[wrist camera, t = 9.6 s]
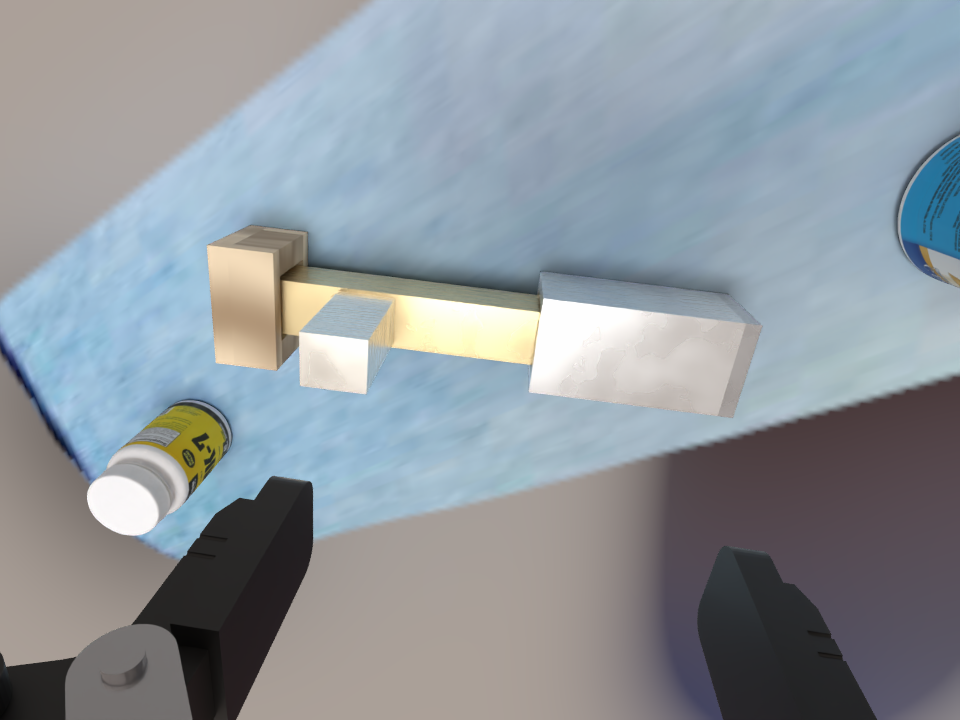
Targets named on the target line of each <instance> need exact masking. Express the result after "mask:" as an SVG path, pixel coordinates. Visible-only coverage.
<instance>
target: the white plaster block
mask: <svg viewBox="0 0 960 720" xmlns="http://www.w3.org/2000/svg"><path fill="white" fill-rule="evenodd" d="M537 295H539V296H540V307H541V310H540V316H539V323H538V329H537V335H536V342H535V348H534V354H533V361H532V365H528V383H529V392H531V393H539V394H547V395H555V396H563V397H571V398H579V399H587V400H595V401H603V402H611V403H619V404H627V405H635V406H642V407H650V408H658V409H666V410H674V411H682V412H690V413H698V414H706V415H714V416H722V417H730V418H733V416H734V413H735V410H736V407H737V403H738V400H739V397H740V394H741V391H742V388H743V385H744V382H745V378H746V375H747V372H748V369H749V366H750V363H751V360H752V357H753V353H754V350H755V347H756V344H757V341H758V338H759V335H760V332H761V328H762V325H761V324H760V323H759V322H758V321H757V320H756V319H755V318H754V317H753V316H751V315H750V314H749V313H748V312H747V311H746V310H745V309H744V308H743V307H742V306H741V305H740V304H739V303H738V302H736V301H735V300H734V299H733V298H732V297H731V296H730V295H729V294H723V293H715V292H706V291H698V290H690V289H682V288H674V287H666V286H658V285H650V284H641V283H633V282H625V281H617V280H609V279H601V278H593V277H584V276H576V275H568V274H560V273H552V272H544V271H540V277H539V284H538V290H537Z"/></svg>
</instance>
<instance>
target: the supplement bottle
mask: <svg viewBox="0 0 960 720" xmlns="http://www.w3.org/2000/svg"><path fill="white" fill-rule="evenodd" d="M230 444H231V431H230V428H229V425H228V423H227V421H226V419H225V418H224V416H223V415H222V414H221V413H220V412H219V411H218V410H216V409H215V408H214V407H212V406H210V405H208V404H206V403H203V402H200V401H195V400H185V401H180V402H177V403H175V404H173V405H171V406H170V407H169V408H167V409H166V410H165V411H164V412H163V413H161V414H160V415H159V416H158V417H157V418H156V419H154V420H153V421H152V422H151V423H150V424H149V425H147V426H146V427H145V428H144V429H143V430H142V431H141V432H139V433H138V434H137V435H136V436H135V437H134V438H132V439H131V440H130V441H129V442H128V443H126V444H125V445H124V446H123V447H122V448H121V449H119V450H118V451H117V452H116V453H115V454H114V455H113V457H112V458H111V459H110V461H109V463H108V466H107V469H106V470H105V471H104V472H103V473H102V474H101V475H100V476H99V477H98V478H97V479H96V480H95V481H94V482H93V483H92V484H91V486H90V488H89V490H88V494H87V501H88V505H89V508H90V510H91V512H92V514H93V515H94V516H95V517H96V519H97V520H98V521H99V522H101V523H102V524H103V525H104V526H106V527H107V528H109V529H110V530H112V531H115V532H117V533H120V534H124V535H141V534H144V533H147V532H149V531H150V530H152V529H153V528H154V527H155V526H156V525H157V524H158V523H159V522H160V521H161V520H162V519H163V518H164V517H165V516H166V515H167V514H170V513H172V512H174V511H176V510H177V509H179V508H180V507H181V506H182V505H183V504H184V503H185V502H186V500H187V499H188V498H189V497H190V495H192V493H193V492H194V491H195V490H196V488H197V487H198V486H199V485H200V484H201V483H202V481H203V480H204V479H205V478H206V477H207V475H208V474H209V473H210V472H211V471H212V469H213V468H214V467H215V466H216V465H217V463H218V462H219V461H220V460H221V459H222V458H223V456H224V455H225V454H226V453H227V451H228V449H229V447H230Z"/></svg>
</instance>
